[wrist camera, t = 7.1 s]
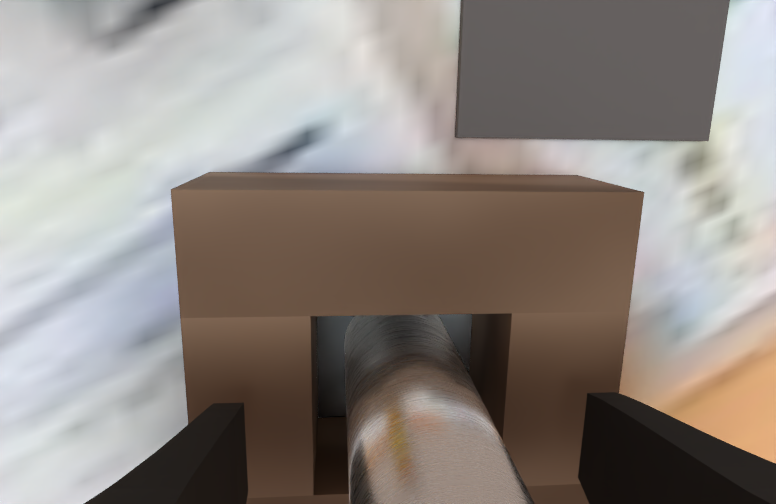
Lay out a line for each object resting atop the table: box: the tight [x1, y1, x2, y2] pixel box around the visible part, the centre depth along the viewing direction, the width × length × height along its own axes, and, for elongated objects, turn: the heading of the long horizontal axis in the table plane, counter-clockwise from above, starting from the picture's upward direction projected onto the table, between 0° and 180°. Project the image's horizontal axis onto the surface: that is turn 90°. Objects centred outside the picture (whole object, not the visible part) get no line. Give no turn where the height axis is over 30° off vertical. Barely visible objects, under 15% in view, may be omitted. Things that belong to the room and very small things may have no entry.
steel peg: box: [344, 314, 535, 504], centre depth 12 cm, size 3×3×9 cm
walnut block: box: [171, 172, 644, 504], centre depth 15 cm, size 10×10×4 cm
